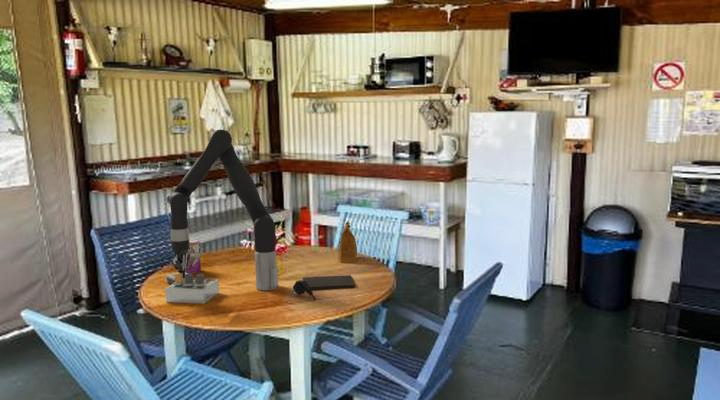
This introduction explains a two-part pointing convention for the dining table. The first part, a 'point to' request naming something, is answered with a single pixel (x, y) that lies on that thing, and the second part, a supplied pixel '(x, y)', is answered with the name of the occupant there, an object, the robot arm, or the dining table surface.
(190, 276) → the breaker mid
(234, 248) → the dining table surface
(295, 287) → the power plug
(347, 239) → the coffee package
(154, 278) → the dining table surface
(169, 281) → the electrical switch
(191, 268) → the candy bar box
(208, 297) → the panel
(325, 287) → the hardcover book
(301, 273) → the dining table surface
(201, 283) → the breaker left
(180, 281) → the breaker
